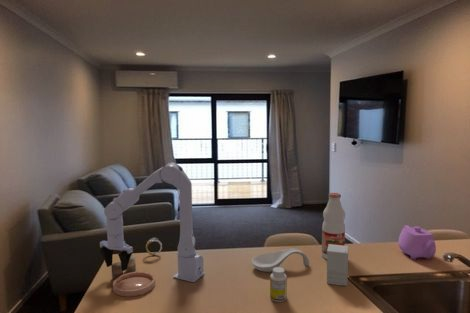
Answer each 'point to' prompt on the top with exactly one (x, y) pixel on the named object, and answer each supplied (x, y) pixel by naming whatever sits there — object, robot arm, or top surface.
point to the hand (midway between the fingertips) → (116, 267)
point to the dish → (133, 284)
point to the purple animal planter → (417, 242)
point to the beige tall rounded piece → (131, 265)
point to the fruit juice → (333, 223)
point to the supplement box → (337, 264)
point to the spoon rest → (275, 259)
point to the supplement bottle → (278, 285)
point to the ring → (151, 242)
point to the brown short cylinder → (116, 270)
